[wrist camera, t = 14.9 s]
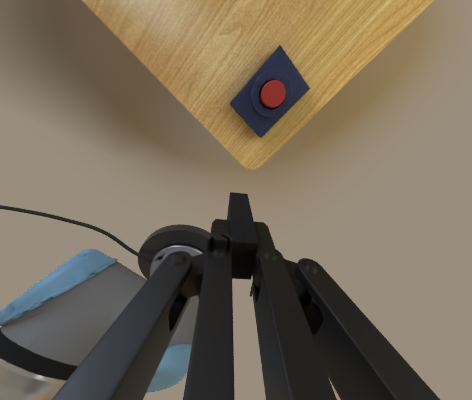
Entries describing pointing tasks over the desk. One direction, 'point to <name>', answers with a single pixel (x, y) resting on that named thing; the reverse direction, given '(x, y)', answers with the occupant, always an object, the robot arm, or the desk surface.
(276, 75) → the button block
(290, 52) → the desk surface
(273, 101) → the red button
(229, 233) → the robot arm
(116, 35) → the desk surface
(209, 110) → the desk surface
